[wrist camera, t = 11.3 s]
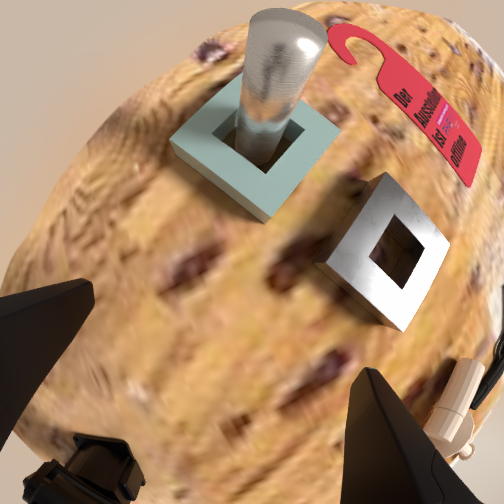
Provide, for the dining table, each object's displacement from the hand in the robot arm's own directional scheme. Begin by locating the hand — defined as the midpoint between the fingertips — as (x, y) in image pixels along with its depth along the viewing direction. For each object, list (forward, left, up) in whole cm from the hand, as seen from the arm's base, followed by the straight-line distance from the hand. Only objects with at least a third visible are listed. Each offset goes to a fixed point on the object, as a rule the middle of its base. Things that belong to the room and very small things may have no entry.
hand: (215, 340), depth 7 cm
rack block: (+4, +11, -13) cm, 17 cm away
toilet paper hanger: (+28, -23, -13) cm, 38 cm away
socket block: (+14, +1, -13) cm, 19 cm away
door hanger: (+24, +19, -13) cm, 33 cm away
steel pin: (+4, +11, -13) cm, 17 cm away
